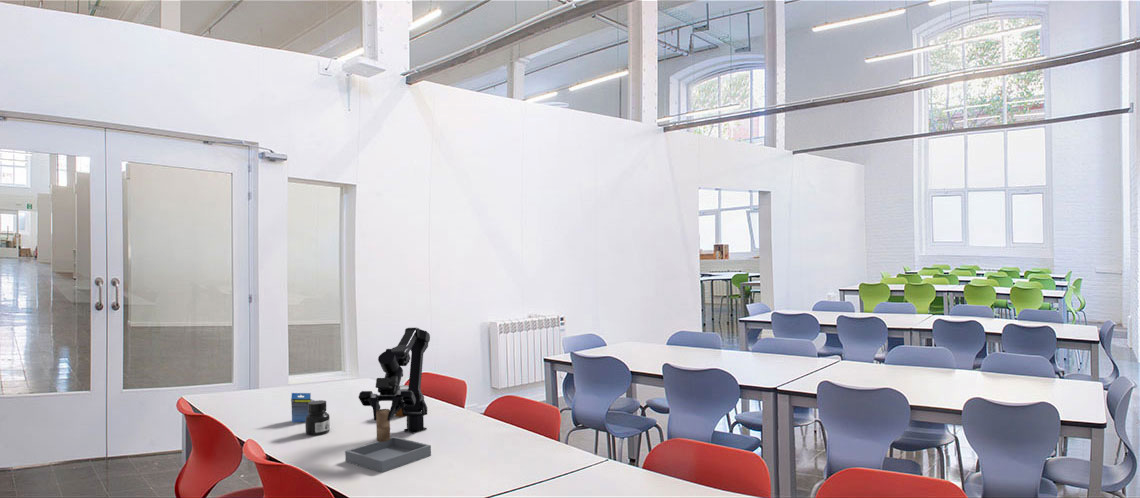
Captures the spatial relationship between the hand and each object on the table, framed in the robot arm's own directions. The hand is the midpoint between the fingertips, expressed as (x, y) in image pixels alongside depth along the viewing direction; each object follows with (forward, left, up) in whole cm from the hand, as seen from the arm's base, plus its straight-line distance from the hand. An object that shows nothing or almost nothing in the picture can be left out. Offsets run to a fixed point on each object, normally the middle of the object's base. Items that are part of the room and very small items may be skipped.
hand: (381, 420), depth 218 cm
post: (+1, -1, -7) cm, 7 cm away
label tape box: (+72, -14, -14) cm, 75 cm away
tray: (-1, -2, -13) cm, 14 cm away
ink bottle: (+50, -7, -14) cm, 53 cm away
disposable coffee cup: (+43, -43, -14) cm, 63 cm away
